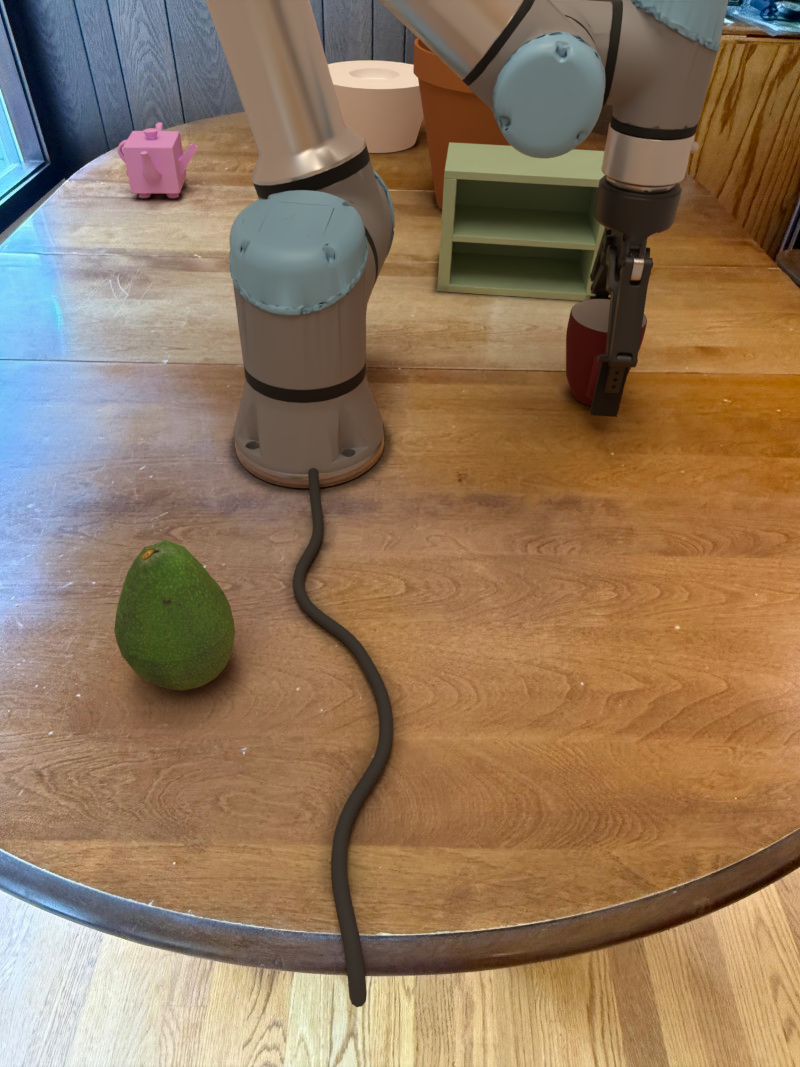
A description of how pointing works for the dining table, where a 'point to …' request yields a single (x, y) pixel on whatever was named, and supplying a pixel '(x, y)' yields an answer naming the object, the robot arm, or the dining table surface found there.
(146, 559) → the fruit
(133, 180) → the teapot
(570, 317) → the mug
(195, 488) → the dining table surface
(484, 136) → the flowerpot
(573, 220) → the shelf unit
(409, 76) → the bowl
